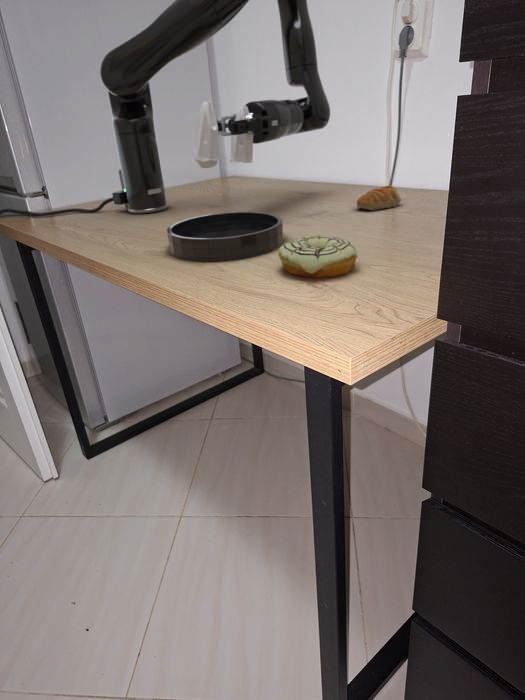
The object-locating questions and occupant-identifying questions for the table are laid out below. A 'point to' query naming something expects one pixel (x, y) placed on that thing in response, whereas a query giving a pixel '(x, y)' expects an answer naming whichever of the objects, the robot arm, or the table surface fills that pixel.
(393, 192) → the pastry
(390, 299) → the table surface
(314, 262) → the decorated donut
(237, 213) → the pan
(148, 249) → the table surface
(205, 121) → the shaker set
